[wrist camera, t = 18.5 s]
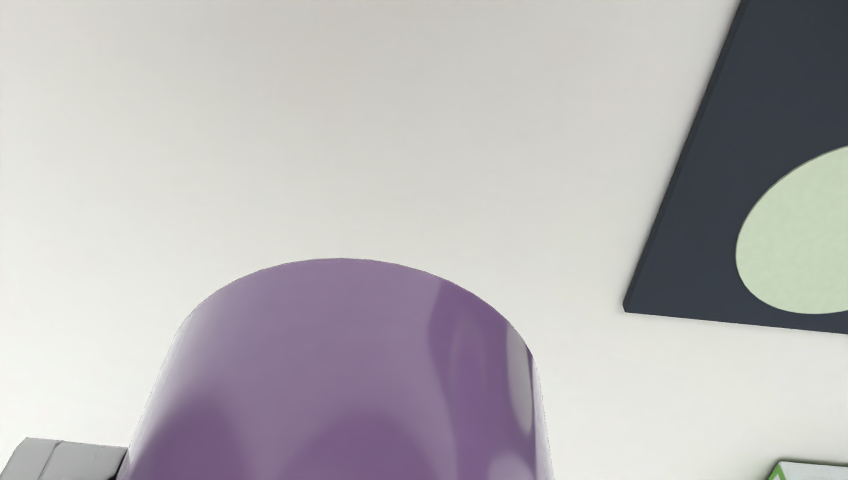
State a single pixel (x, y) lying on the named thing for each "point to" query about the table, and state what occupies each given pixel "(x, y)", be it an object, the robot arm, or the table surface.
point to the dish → (343, 383)
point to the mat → (761, 181)
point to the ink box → (808, 472)
